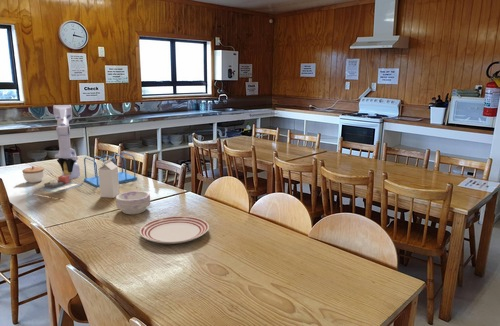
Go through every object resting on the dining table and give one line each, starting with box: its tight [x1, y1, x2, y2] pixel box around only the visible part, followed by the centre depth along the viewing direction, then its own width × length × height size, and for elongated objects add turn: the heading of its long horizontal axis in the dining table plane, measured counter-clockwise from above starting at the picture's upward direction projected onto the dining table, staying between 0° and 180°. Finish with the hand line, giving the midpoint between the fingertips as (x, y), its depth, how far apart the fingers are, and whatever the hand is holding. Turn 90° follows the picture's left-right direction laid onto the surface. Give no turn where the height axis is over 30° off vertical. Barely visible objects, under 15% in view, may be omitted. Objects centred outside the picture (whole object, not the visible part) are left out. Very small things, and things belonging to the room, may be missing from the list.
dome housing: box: [43, 180, 64, 188], centre depth 212 cm, size 7×7×2 cm
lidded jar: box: [22, 165, 45, 184], centre depth 220 cm, size 11×11×9 cm
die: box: [57, 175, 71, 184], centre depth 218 cm, size 4×4×4 cm
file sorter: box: [83, 151, 138, 188], centre depth 224 cm, size 25×17×15 cm
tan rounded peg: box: [63, 162, 71, 175], centre depth 210 cm, size 4×4×8 cm
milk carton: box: [97, 158, 120, 199], centre depth 197 cm, size 7×7×19 cm
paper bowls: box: [115, 190, 151, 215], centre depth 177 cm, size 15×15×8 cm
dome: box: [49, 179, 59, 184], centre depth 212 cm, size 4×4×2 cm
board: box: [35, 181, 85, 194], centre depth 211 cm, size 18×16×1 cm
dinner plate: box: [139, 215, 210, 245], centre depth 153 cm, size 28×27×3 cm
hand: (67, 171), depth 210 cm, fingers closed on tan rounded peg, 4 cm apart
